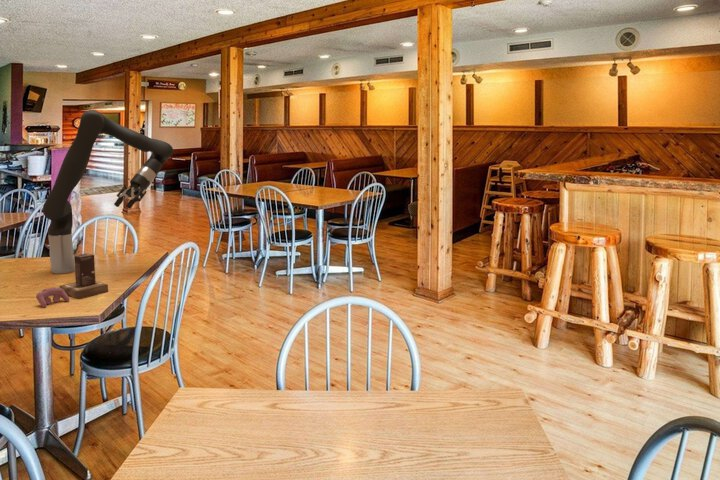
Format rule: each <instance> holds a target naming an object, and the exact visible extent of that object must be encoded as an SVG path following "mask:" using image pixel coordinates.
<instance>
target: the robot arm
mask: <svg viewBox="0 0 720 480" xmlns="http://www.w3.org/2000/svg"><path fill="white" fill-rule="evenodd" d="M79 120H80V121H79V125H78V127H77V128H78V129H77V133H76V136H75V138H74V140H73V142H72V144H71V145H70V147H69V148H68V150H67V152H66V153H65V156H64V157H63V158H64V159H63V161H62V162H61V165H60V168H59V170H58V173H57V176H56V178H55V181H54V185H53V187H52V189H51V191H50V192H49V194H48V196H47V198H46V199H45V201H44V203H43V205H42V213H43V216H44V218H46V219H47V220H49V221H50V224H49V227H48V228H47V236H48V237H47V238H48V246H49V259H50V260H49V261H50V269H51V270H50V272H51V273H52V274H56V275H57V274H58V275H59V274H67V273H73V272H75V262H74V256H75V255H74V246H73V245H74V244H73V243H74V242H73V236H72V234H73V233H72V229H73V224H74V223H73V208H72V204H71V203H70V201H69V198H70V195H71V193H72V192H73V190H74V189H75V188H76V187H77V185H78V184H79V182H81V180H82V178H83V177H84V174H85V172H86V170H87V167H88V164H89V162H90V158H91V155H92V151H93V147H94V144H95V142H96V141H97V139H98V137H99V136H100V134H102V133H103V134H104V135H108V136H110V137H113V138H115V139H117V140H118V141H120V142H121V143H124V144H126V145H128V146H130V147H131V148H134V149H137V150H139V151H141V152H144V153H148V152H150V153H151V154H150V156H149V158H148V159H147V160H146V161H145V162H144V164H142V166H140V168H139V169H138V170H137V171H136V173H134V175H133V177H132V178H131V179H130V180H129V183H130V184H129V186H126V185H124V186H123V187H122V188H121V189H120V190H119V192H118V193H117V194H116V197H117V199H116V200H115V202H114V203H113V204H114V205H113V206H114V207H117V208H119V207H120V206H121V204H123V202H124V201H125V200H128V199H129V198H131V199H129V201H128V202H127V203H126V205H125V207H126V208H127V209H132V207H133V206H134V205H135V204H136V203H137V202H138V203H140V202H141V201H142V200H143V198H144V196H145V195H146V194H147V192H148V191H147V189H148V188H149V186H151V184H152V183H153V181H154V179H155V178H156V176H158V174H159V172H160V171H161V169H162V167H163V166H164V164H166V162H167V161H168V160H169V159H170V158H171V157H172V156H173V154H174V148H173V146H172V145H171V144H170V143H168V142H166V141H164V140H160V139H157V138H156V139H155V138H151V137H149V136H147V135H144V134H142V133H140V132H138V131H136V130H133V129H131V128H128V127H126V126H123V125H122V124H119V123H117V122H115V121H114V120H111V119H110V118H109V117H106V116H105V115H103V114H102V113H101V112H99V111H98V110H94V109H89V110H88V109H87V110H86V111H84V112H83V113H82V114H81V117H80V119H79Z"/></svg>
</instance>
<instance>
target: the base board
mask: <svg viewBox="0 0 720 480" xmlns="http://www.w3.org/2000/svg"><path fill="white" fill-rule="evenodd" d="M95 283H96V284H92V285H87V286H83V287H80V286H77V285H76V281H75V282H70V283H67V284H62V285H59V287H60V288H61V289H63V290H64V291H65V293H66V294H67V295H68V297H71V298H75V299H78V300H80V299H84V298H89V297H92V296H95V295H96V296H97V295H102V294H105V293H109V285H108V284H107V283H104V282H100V281H97V280H95Z"/></svg>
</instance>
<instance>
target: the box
mask: <svg viewBox="0 0 720 480" xmlns="http://www.w3.org/2000/svg"><path fill="white" fill-rule="evenodd" d="M74 265H75V271H74V275H75V282H76V285H77V286H80V287H83V286H87V285H92V284H96V283H95V281H96V267H95V265H96V263H95V255H94V254H92V253H83V254H82V253H81V254H77V255H74Z"/></svg>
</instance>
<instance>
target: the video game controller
mask: <svg viewBox="0 0 720 480" xmlns="http://www.w3.org/2000/svg"><path fill="white" fill-rule="evenodd" d="M50 297H52V299H51V298H50ZM35 298H36V300H37V301H38V303H39V304H40V306H41V307H42V308H46V307H47V305H50V304H51V303H52V301H53V303H58V302H60V300H61V298H62V299H63V301H65V302H67V303H69V302H70V296H68V295H67V294H66V293H65V291H64V290H63V289H61V288H60V286H59V287H53V286H52V287H47V288H44V289H43V290H40V291H39V292H37V293H36V296H35Z"/></svg>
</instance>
